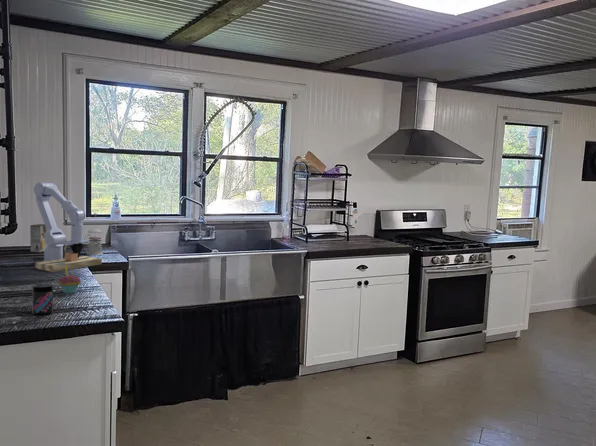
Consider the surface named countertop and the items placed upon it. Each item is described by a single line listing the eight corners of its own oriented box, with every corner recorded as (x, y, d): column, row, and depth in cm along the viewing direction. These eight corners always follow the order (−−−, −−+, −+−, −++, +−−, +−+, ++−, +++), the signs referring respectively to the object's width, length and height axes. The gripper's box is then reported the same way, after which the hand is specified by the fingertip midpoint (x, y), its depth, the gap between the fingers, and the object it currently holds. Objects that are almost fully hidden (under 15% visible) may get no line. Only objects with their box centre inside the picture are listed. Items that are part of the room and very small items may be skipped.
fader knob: (64, 259, 274) (64, 252, 274) (71, 258, 278) (71, 251, 277) (71, 260, 272) (71, 253, 272) (77, 259, 276) (77, 252, 275)
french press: (106, 253, 318) (107, 213, 316) (90, 255, 308) (90, 214, 306) (96, 251, 323) (97, 212, 321) (80, 253, 314) (80, 212, 311)
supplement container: (28, 315, 184) (28, 286, 183) (38, 310, 190) (38, 282, 189) (47, 316, 183) (47, 287, 182) (56, 311, 190) (56, 283, 189)
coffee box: (37, 249, 321) (37, 223, 320) (48, 250, 321) (48, 224, 320) (30, 251, 312) (30, 225, 311) (40, 252, 312) (40, 225, 311)
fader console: (35, 268, 264) (35, 262, 264) (84, 261, 291) (84, 255, 291) (53, 272, 258) (53, 265, 258) (101, 264, 284) (101, 258, 284)
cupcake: (66, 295, 214) (66, 266, 213) (54, 292, 219) (54, 264, 217) (84, 291, 221) (85, 264, 220) (72, 288, 226) (72, 261, 225)
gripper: (70, 234, 268) (70, 260, 270) (93, 232, 281) (93, 257, 282) (61, 233, 272) (61, 258, 273) (84, 231, 284) (84, 255, 286)
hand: (76, 257), depth 278 cm, fingers closed
